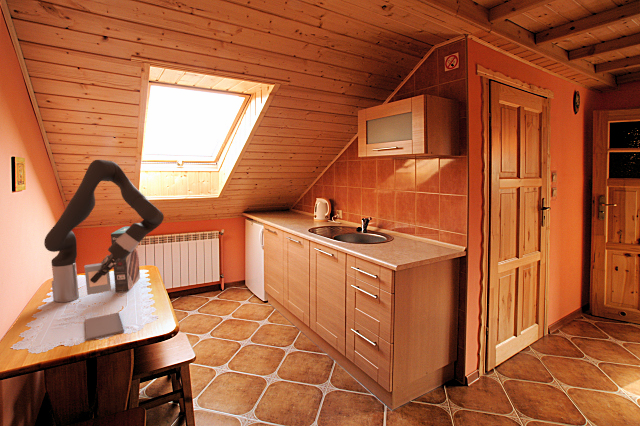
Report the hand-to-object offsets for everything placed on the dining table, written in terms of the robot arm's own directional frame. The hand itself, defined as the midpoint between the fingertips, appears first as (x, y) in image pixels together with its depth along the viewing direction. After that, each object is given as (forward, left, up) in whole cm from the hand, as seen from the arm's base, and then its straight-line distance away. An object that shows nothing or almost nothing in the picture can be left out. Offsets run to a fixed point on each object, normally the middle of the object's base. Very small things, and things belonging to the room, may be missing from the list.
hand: (92, 280), depth 140 cm
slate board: (+5, -2, -18) cm, 19 cm away
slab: (+1, +1, -5) cm, 5 cm away
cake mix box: (-17, +46, -18) cm, 53 cm away
